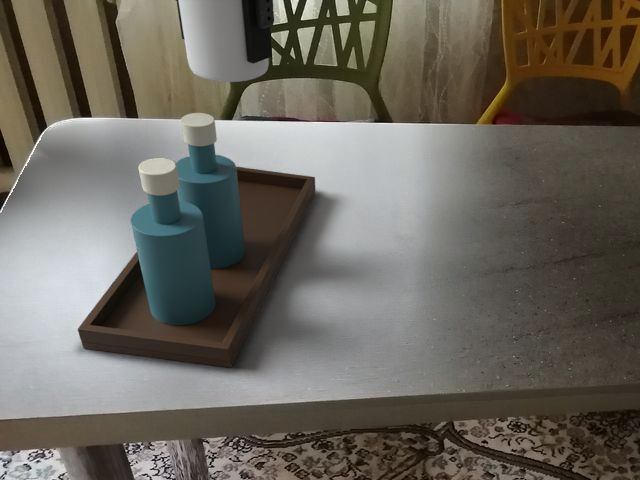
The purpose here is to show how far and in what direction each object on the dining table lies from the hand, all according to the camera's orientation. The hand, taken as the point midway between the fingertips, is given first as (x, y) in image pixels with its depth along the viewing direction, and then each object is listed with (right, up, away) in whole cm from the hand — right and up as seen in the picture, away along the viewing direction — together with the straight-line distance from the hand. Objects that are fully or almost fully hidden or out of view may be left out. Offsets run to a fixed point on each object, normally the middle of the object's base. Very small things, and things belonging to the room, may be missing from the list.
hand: (226, 47), depth 75 cm
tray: (-3, -21, +5) cm, 21 cm away
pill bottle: (0, -2, +2) cm, 2 cm away
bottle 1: (-3, -26, -2) cm, 27 cm away
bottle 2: (-3, -20, +5) cm, 21 cm away
